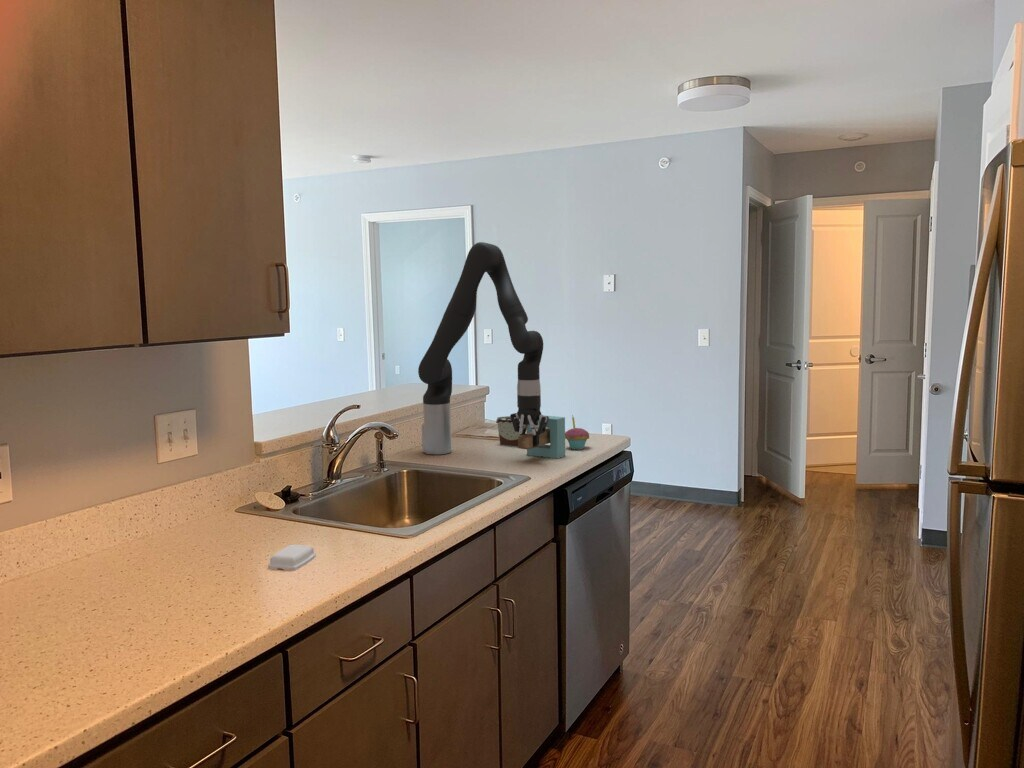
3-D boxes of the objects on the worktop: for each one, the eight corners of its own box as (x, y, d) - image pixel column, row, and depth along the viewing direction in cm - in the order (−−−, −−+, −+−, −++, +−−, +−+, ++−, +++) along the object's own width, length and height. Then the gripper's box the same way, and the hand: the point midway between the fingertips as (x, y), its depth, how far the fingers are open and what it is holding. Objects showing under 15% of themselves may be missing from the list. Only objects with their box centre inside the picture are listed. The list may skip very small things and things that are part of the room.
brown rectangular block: (518, 448, 241) (518, 436, 241) (551, 438, 257) (551, 426, 257) (528, 449, 239) (528, 437, 238) (561, 439, 255) (561, 427, 254)
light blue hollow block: (527, 454, 253) (526, 416, 251) (535, 452, 257) (534, 414, 255) (557, 458, 246) (557, 419, 244) (565, 455, 250) (564, 417, 248)
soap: (289, 555, 158) (289, 541, 158) (318, 557, 157) (318, 543, 156) (265, 570, 150) (264, 556, 150) (295, 572, 148) (294, 558, 148)
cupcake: (577, 451, 256) (577, 417, 255) (559, 448, 263) (559, 414, 261) (594, 448, 262) (594, 414, 260) (576, 444, 268) (576, 411, 267)
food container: (534, 445, 269) (534, 417, 268) (525, 448, 264) (525, 420, 263) (505, 441, 276) (505, 415, 275) (496, 444, 271) (495, 417, 269)
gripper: (504, 393, 242) (505, 445, 244) (541, 396, 234) (541, 450, 236) (517, 390, 248) (518, 441, 250) (553, 393, 240) (554, 446, 242)
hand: (529, 445), depth 243 cm, fingers closed on brown rectangular block, 4 cm apart
